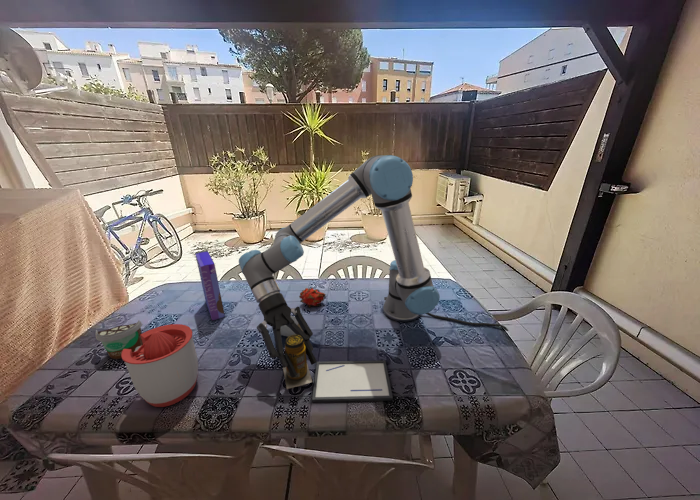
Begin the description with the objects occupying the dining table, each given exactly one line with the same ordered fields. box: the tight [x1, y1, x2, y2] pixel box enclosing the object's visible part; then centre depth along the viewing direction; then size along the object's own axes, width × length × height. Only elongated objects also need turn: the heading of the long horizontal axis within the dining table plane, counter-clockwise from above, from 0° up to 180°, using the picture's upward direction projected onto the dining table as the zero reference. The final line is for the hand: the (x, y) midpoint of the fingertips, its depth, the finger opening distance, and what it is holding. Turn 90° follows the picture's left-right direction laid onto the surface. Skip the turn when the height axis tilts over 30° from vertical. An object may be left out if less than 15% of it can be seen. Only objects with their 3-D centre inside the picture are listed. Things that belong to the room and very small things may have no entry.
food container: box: [95, 319, 143, 360], centre depth 89 cm, size 12×6×10 cm, turn 117°
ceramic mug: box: [280, 315, 303, 338], centre depth 100 cm, size 11×8×8 cm
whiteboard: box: [311, 359, 394, 403], centre depth 80 cm, size 22×14×1 cm, turn 91°
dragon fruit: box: [298, 287, 327, 308], centre depth 119 cm, size 8×8×12 cm
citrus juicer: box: [121, 323, 199, 408], centre depth 74 cm, size 16×17×20 cm
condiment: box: [282, 335, 313, 390], centre depth 78 cm, size 7×8×12 cm
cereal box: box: [194, 250, 226, 322], centre depth 112 cm, size 17×5×24 cm, turn 34°
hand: (304, 369), depth 76 cm, fingers closed on condiment, 6 cm apart
